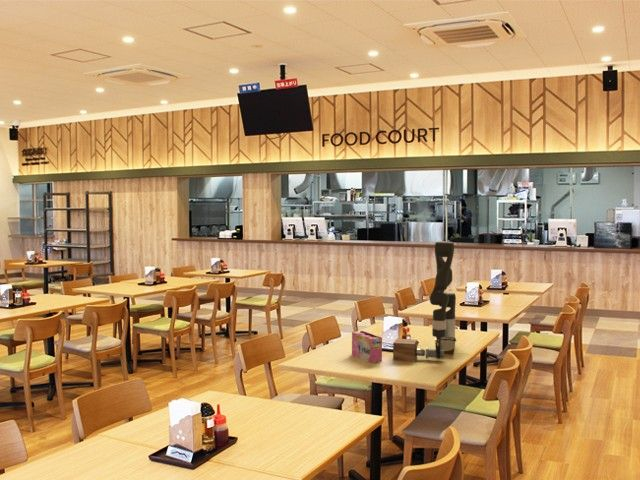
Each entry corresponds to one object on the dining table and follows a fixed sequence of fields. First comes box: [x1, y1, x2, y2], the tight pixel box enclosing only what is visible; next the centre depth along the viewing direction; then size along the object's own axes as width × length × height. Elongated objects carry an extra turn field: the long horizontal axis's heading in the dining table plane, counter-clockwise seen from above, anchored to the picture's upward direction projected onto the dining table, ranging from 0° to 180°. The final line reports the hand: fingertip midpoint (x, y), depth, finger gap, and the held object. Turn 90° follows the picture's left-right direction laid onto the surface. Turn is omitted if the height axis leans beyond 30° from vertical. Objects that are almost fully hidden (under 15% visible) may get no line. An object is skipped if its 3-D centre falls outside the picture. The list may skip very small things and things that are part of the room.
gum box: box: [351, 330, 383, 363], centre depth 384 cm, size 24×8×14 cm, turn 26°
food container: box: [442, 336, 457, 356], centre depth 392 cm, size 12×6×10 cm, turn 84°
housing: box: [392, 338, 418, 363], centre depth 381 cm, size 12×12×10 cm
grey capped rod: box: [415, 347, 445, 359], centre depth 378 cm, size 6×19×6 cm, turn 73°
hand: (438, 357), depth 376 cm, fingers closed on grey capped rod, 3 cm apart
